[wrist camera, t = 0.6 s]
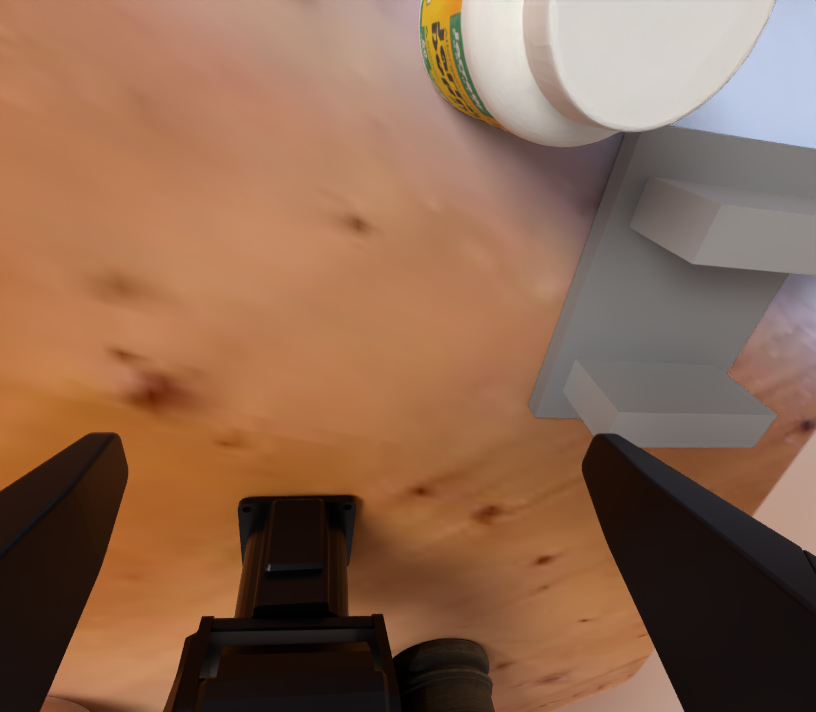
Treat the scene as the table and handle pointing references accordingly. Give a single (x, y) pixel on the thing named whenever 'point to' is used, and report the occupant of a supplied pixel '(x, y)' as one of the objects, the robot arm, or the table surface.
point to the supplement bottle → (584, 61)
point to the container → (444, 677)
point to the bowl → (61, 706)
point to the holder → (679, 288)
